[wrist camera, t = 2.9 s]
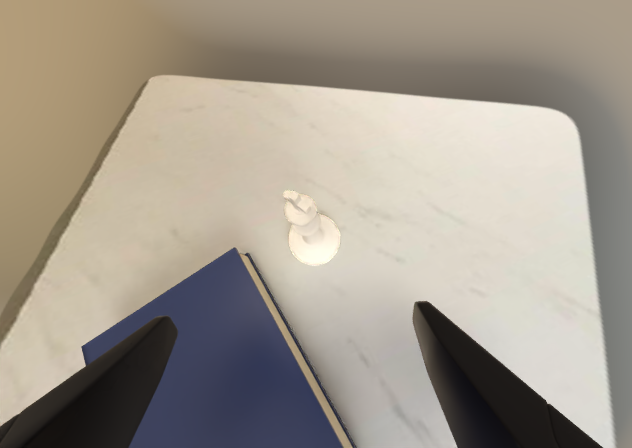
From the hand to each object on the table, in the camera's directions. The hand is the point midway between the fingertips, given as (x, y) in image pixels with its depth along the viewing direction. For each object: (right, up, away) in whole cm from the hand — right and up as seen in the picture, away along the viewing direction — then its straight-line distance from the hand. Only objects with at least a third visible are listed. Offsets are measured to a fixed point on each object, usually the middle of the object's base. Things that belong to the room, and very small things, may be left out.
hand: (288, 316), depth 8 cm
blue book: (-6, -11, +10) cm, 16 cm away
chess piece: (+1, +2, +13) cm, 14 cm away
